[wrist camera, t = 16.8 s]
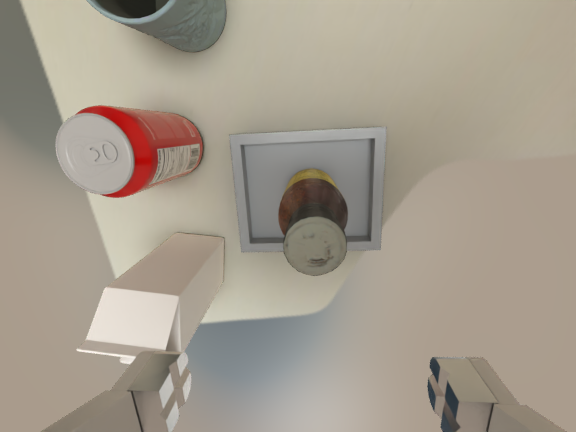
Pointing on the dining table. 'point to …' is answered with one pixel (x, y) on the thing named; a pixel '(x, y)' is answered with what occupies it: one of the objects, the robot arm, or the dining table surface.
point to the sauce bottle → (313, 223)
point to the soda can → (126, 149)
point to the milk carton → (158, 299)
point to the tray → (299, 156)
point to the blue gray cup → (170, 19)
